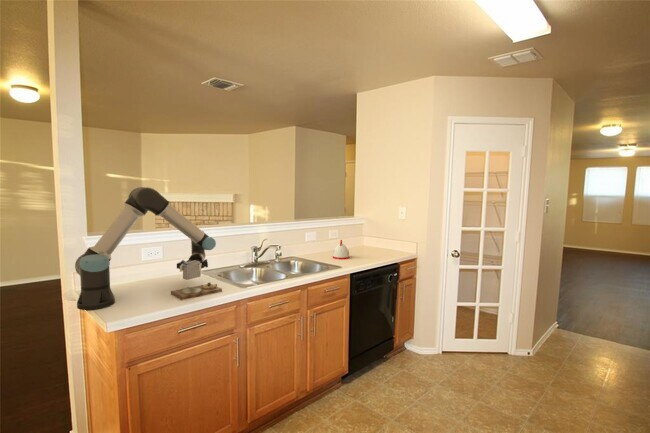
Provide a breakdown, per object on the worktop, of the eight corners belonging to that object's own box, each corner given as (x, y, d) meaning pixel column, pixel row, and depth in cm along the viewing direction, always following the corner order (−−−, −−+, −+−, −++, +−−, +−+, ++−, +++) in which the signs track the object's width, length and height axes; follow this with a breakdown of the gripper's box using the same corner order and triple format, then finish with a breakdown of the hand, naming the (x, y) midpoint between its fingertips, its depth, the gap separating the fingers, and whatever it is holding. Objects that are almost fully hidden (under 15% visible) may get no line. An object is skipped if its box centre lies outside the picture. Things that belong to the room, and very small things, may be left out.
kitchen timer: (349, 256, 295) (350, 239, 294) (348, 259, 281) (349, 241, 280) (333, 256, 297) (333, 238, 296) (331, 259, 283) (331, 240, 282)
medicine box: (195, 275, 190) (195, 260, 189) (200, 276, 188) (200, 261, 187) (182, 278, 184) (182, 262, 183) (187, 280, 181) (187, 263, 180)
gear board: (182, 300, 175) (181, 292, 175) (171, 293, 185) (170, 286, 185) (222, 291, 191) (222, 284, 191) (210, 286, 201) (210, 279, 201)
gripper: (215, 265, 205) (211, 274, 183) (176, 267, 200) (168, 276, 178) (215, 252, 205) (211, 260, 183) (176, 254, 200) (167, 262, 178)
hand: (190, 268), depth 181 cm, fingers closed on medicine box, 8 cm apart
